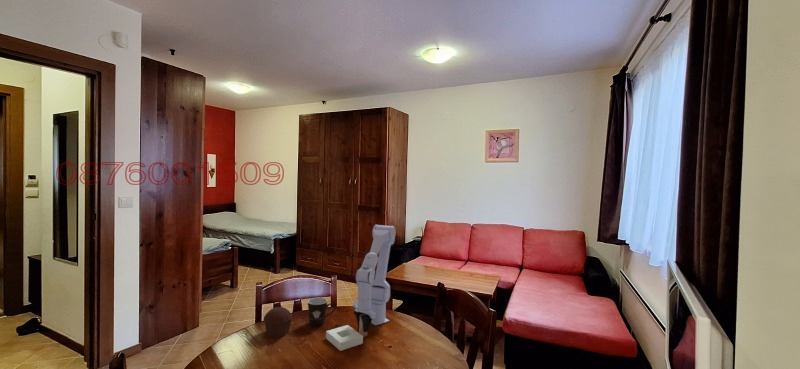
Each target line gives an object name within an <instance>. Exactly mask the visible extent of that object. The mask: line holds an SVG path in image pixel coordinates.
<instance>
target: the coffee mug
mask: <svg viewBox="0 0 800 369" xmlns="http://www.w3.org/2000/svg"><path fill="white" fill-rule="evenodd" d="M329 306H333V307H334V309H333V310H332V311H331V312H329V313H328V314H327V309H328V307H329ZM307 308H308V309H307V311H308V320H309V325H310V326H311V327H320V326H323V325H324V324H325V320H326V318H327V317H328V316H330V315H331V314H333V313H334V312H335V310H336V304H334V303H332V302H330V303H328V299H327V298H325V297H312V298H310V299H308V300H307Z"/></svg>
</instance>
